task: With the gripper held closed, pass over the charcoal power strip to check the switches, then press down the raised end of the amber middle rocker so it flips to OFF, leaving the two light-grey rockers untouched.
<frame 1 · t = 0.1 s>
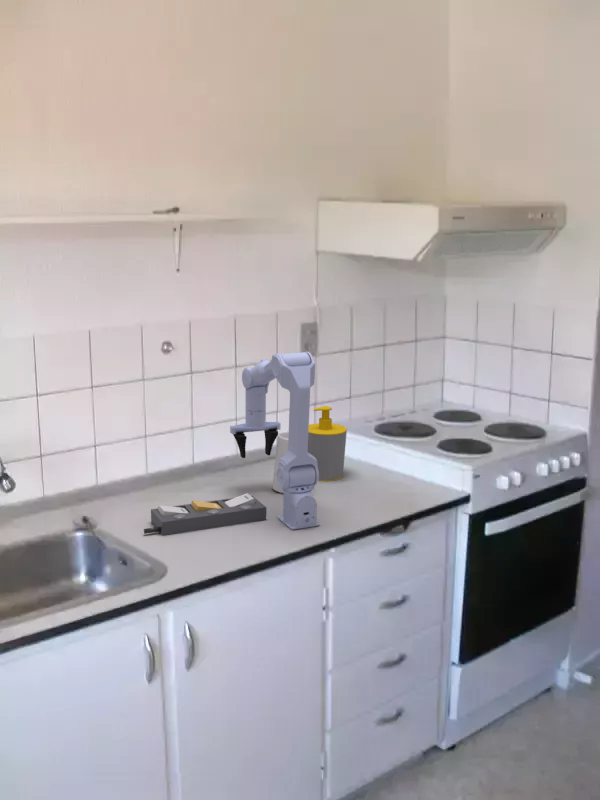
hand: (255, 455, 255), 10 cm above the worktop, fingers open, 7 cm apart
rocker mid: (206, 507, 233), point 3 cm above the worktop, hinge at 14.0°
rocker 2: (239, 502, 237), point 3 cm above the worktop, hinge at -14.0°
power strip: (209, 521, 233), on the worktop
soap bottle: (324, 475, 272), on the worktop
rocker 1: (173, 511, 230), point 3 cm above the worktop, hinge at 14.0°
cup: (286, 489, 258), on the worktop, touching gripper
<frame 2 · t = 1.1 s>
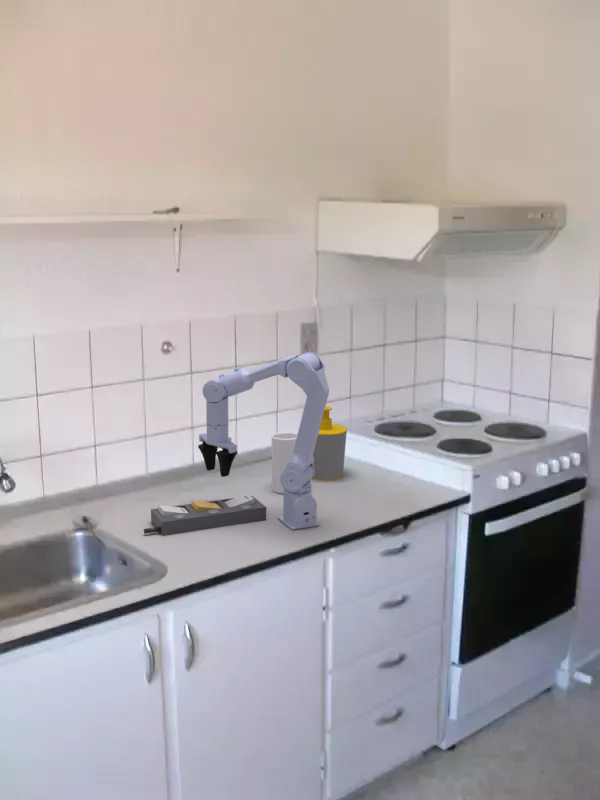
hand: (217, 472, 239), 10 cm above the worktop, fingers open, 6 cm apart
cup: (286, 490, 258), on the worktop
everything else where it was.
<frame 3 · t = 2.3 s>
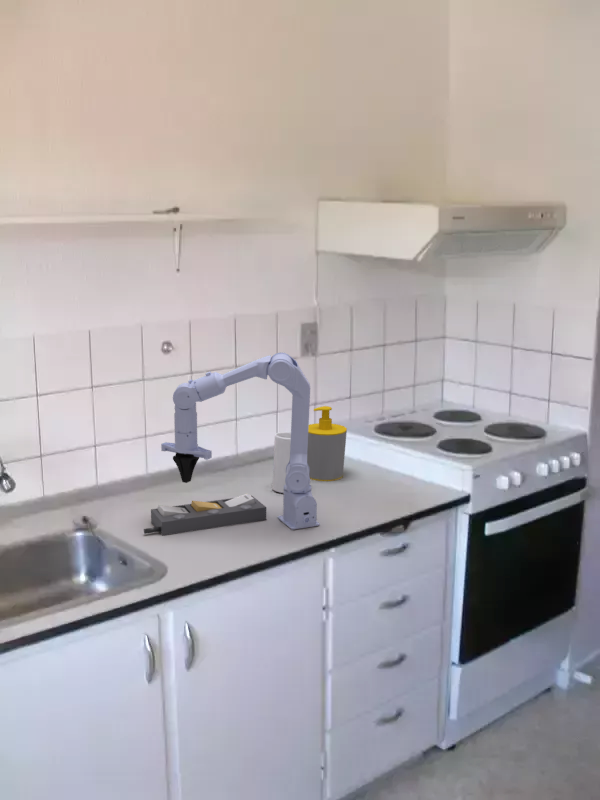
hand: (186, 481, 231), 10 cm above the worktop, fingers closed
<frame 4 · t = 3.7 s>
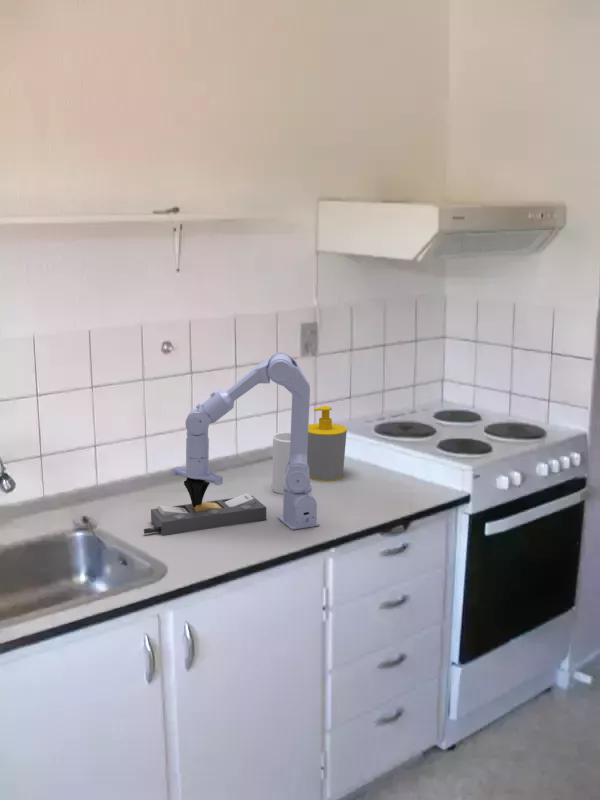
hand: (196, 506, 232), 4 cm above the worktop, fingers closed, pressing on rocker mid
rocker mid: (206, 507, 233), point 3 cm above the worktop, hinge at 12.5°, touching gripper
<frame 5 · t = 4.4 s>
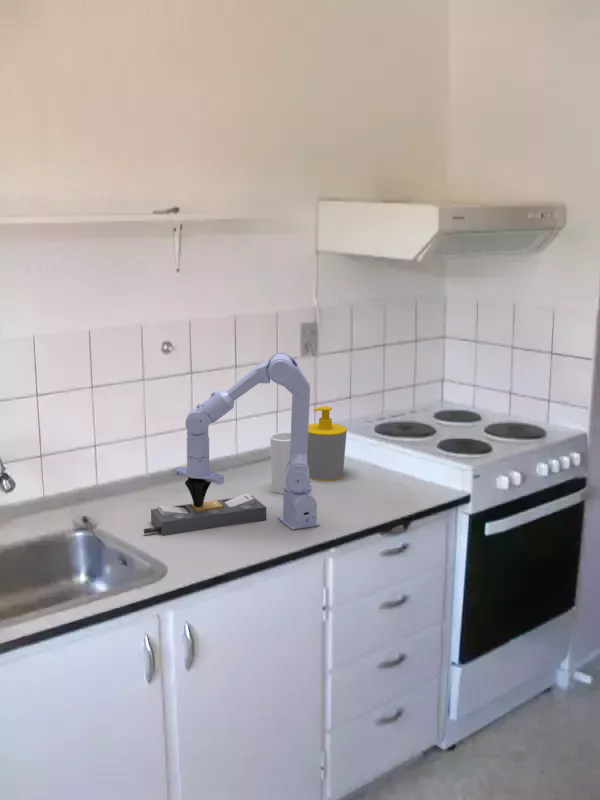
hand: (198, 505, 232), 4 cm above the worktop, fingers closed
rocker mid: (206, 507, 233), point 3 cm above the worktop, hinge at -0.1°
everything else where it was.
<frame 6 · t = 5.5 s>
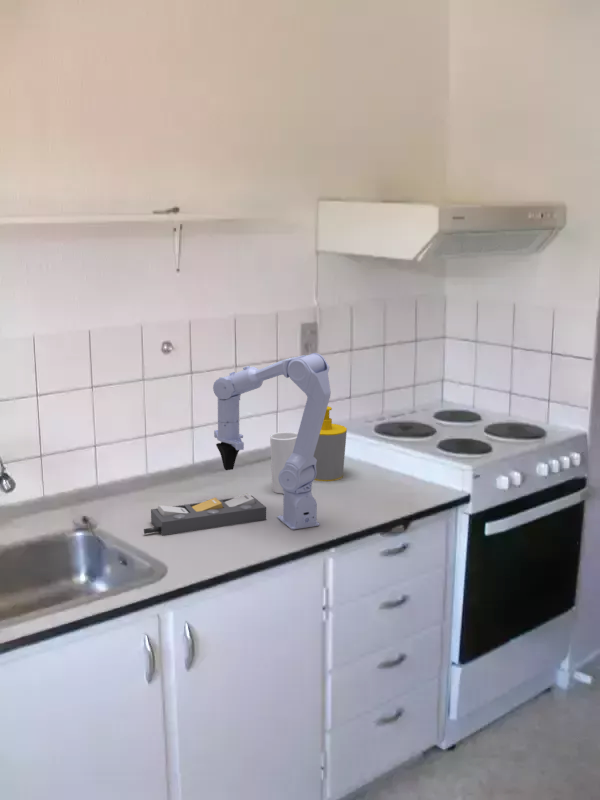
hand: (228, 469, 242), 10 cm above the worktop, fingers closed
rocker mid: (206, 507, 233), point 3 cm above the worktop, hinge at -14.1°
everything else where it was.
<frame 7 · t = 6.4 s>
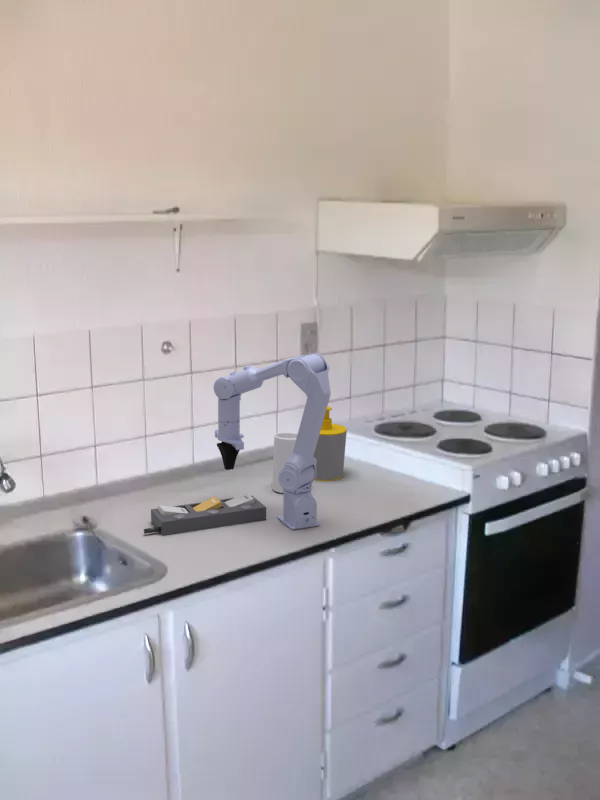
hand: (229, 469, 242), 10 cm above the worktop, fingers closed
rocker mid: (206, 507, 233), point 3 cm above the worktop, hinge at -22.0°
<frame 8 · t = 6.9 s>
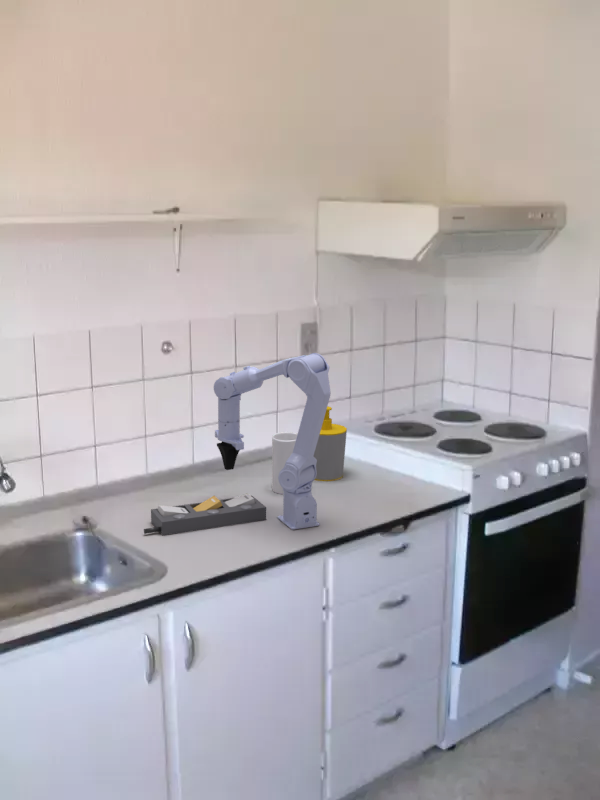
hand: (229, 469, 242), 10 cm above the worktop, fingers closed
rocker mid: (206, 507, 233), point 3 cm above the worktop, hinge at -25.4°
at the end: rocker mid at -26° (first picture: +14°); rocker 2 at -14° (first picture: -14°); rocker 1 at +14° (first picture: +14°) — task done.
